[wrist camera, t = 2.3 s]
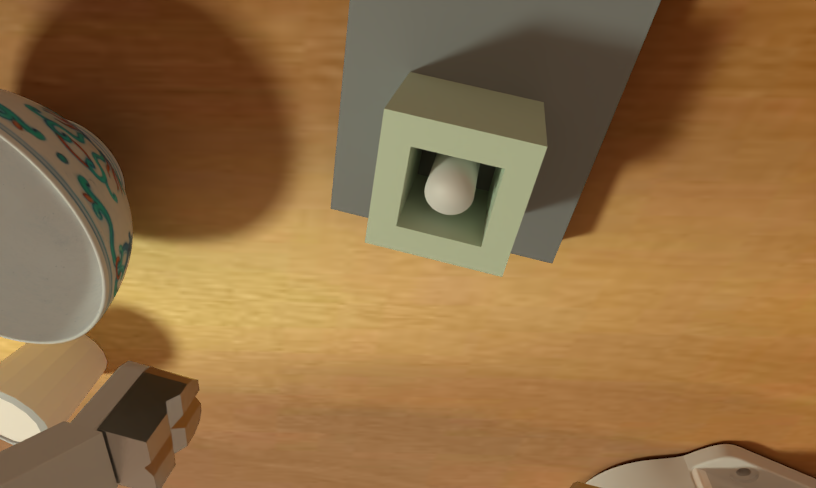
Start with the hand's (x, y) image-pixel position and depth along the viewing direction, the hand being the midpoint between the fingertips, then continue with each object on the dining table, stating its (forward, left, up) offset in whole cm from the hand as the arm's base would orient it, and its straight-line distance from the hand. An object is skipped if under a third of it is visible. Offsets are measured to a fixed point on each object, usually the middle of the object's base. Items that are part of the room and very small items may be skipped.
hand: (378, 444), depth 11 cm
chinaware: (+23, +8, -18) cm, 31 cm away
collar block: (0, 0, -16) cm, 16 cm away
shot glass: (+27, +26, -18) cm, 42 cm away
